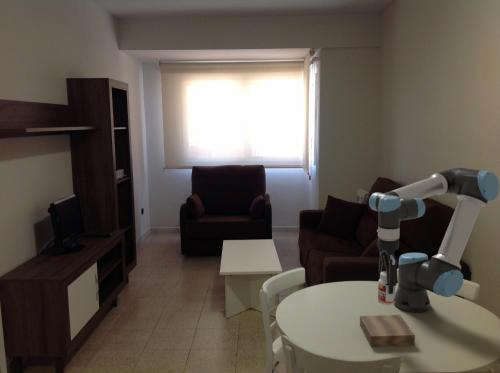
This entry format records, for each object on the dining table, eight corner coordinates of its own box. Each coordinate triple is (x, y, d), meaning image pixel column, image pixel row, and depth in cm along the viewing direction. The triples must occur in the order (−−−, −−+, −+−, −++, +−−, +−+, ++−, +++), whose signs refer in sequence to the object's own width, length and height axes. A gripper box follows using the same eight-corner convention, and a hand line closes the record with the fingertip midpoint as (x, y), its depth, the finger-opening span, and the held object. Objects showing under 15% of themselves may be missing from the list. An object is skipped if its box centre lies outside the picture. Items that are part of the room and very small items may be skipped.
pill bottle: (375, 302, 166) (375, 274, 164) (382, 297, 170) (382, 269, 169) (391, 307, 162) (391, 277, 160) (397, 301, 167) (398, 272, 165)
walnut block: (399, 324, 176) (399, 314, 176) (414, 345, 161) (414, 335, 160) (359, 325, 176) (359, 316, 176) (370, 346, 161) (370, 336, 160)
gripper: (371, 231, 171) (369, 287, 175) (386, 246, 153) (384, 308, 156) (390, 230, 171) (388, 287, 175) (407, 245, 153) (405, 308, 156)
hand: (386, 297), depth 166 cm, fingers closed on pill bottle, 6 cm apart
